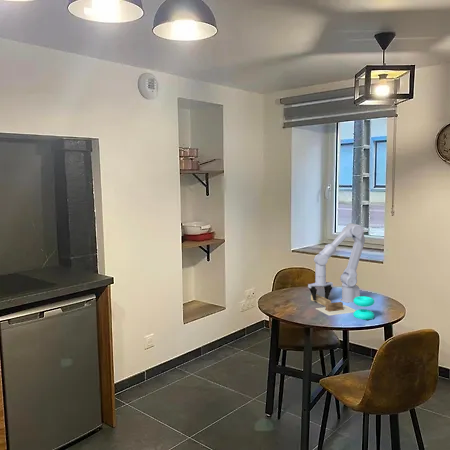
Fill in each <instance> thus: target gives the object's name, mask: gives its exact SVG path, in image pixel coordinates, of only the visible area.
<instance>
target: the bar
mask: <svg viewBox="0 0 450 450" xmlns="http://www.w3.org/2000/svg"><path fill="white" fill-rule="evenodd" d="M310 301H312V302H316V303H317V304H320V305H322V306H323V307H326V304H327V303H332V301H331V300H330V299H329V298H328V299H326V298H325V296H322V295H319V294H317V293H316V301H314V300H313V297H312V294H310Z"/></svg>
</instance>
